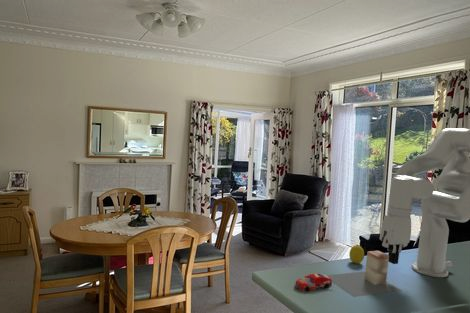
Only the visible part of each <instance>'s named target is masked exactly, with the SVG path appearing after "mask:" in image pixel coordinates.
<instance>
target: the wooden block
mask: <svg viewBox="0 0 470 313" xmlns="http://www.w3.org/2000/svg"><path fill="white" fill-rule="evenodd" d="M388 261H389V255H388V254H387V253H384V252H382V251H380V250H370V251H367V252H366V262H365V269H364V272H365V279H366V280H367V281H369V282H371V283H372V284H374V285H378V284H386V282H387V280H388V279H387V276H388V270H389V268H388V267H389V262H388Z"/></svg>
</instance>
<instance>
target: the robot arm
mask: <svg viewBox="0 0 470 313" xmlns="http://www.w3.org/2000/svg"><path fill="white" fill-rule="evenodd" d="M468 153H470V128H454V127H453V128H452V127H448V128H444V129H442V130H440V132H438V134H437V135H436V136H435V137H434V139H433V140H432V142H431V143H430V144H429V146H428V147H427V148H426V151H424V153H422V154H420V155H418V156H416V157H414V158H412V159H409V160H408V161H406V162H405V163H403V164H402V165H401V166H400V167H399V169H398V170H397V171H396V173H395V174H394V176H393V177H392V178H391V182H390V189H389V197H388V204H387V211H386V212H387V213H386V214H384V218H383V220H382V224H381V229H380V233H379V234H380V235H379V240H380V241H381V242H382V244H381V246H382V247H384V248H386V249H387V251H388V254H387V255H389V261H388V263H390V264H392V265H398V263H399V258H400V254H401V252H402V250H403V248H405V247H407V246H408V244H409V243H410V242H411V235H412V217H411V215H412V207H413V199H418V200H420V205H421V207H420V208H421V223H420V224H421V225H420V231H419V232H420V234H419V242H418V247H417V248H418V250H417V259H416V261H415V262H414V263H412V264H411V268H412V270H414V271H415V272H417V273H420V274H422V275H425V276H428V277H434V278H446V277H448V276H449V271H448V270H447V267H452V266H453V263H452V261H450V260H448V261H446V257H447V248H448V241H449V233H450V229H449V225H448V222H447V220H450V221H452V222H458V223H466V222H468V221H469V220H470V157H469V155H468ZM440 169H443V170H442V171H441V173H440V174H439V177H438V178H437V181H436V187H437V190H438V191H436V190H435V186H434V184H433V183H432V182H431V181H430V180H428V179H427V178H423V177H417V176H416V175H419V174H422V173H426V172H432V171H433V172H434V171H439V170H440Z"/></svg>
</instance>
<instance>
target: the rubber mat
mask: <svg viewBox="0 0 470 313" xmlns="http://www.w3.org/2000/svg"><path fill="white" fill-rule="evenodd" d="M326 276H328V277H330V278H331V281H332V284H334V285H336V286H337V287H339V288H340V289H342V290H343V291H344V292H346V293H347V294H349V295H351V297H353V298H354V297H361V296H362V297H363V296H370V295H371V296H372V295H377V294H386V293H391V292H399V291H402V289H400V288H398V287H397V286H395V285H393V284H391V283H389V282H388V281H386V284H378V285H374V284H372V283H371V282H369V281H367V280H366V279H365V271H357V272H356V271H355V272H346V273H337V274H327V275H326Z"/></svg>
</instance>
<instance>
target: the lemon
mask: <svg viewBox="0 0 470 313" xmlns="http://www.w3.org/2000/svg"><path fill="white" fill-rule="evenodd" d="M348 255H349V259H350V261H351V262H352V263H354V264H356V265H357V264H360V263H362V262H364V259H365V251H364V248H362V246H361V245H359V244H355V245H353V246H351V247H350V251H349V254H348Z"/></svg>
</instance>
